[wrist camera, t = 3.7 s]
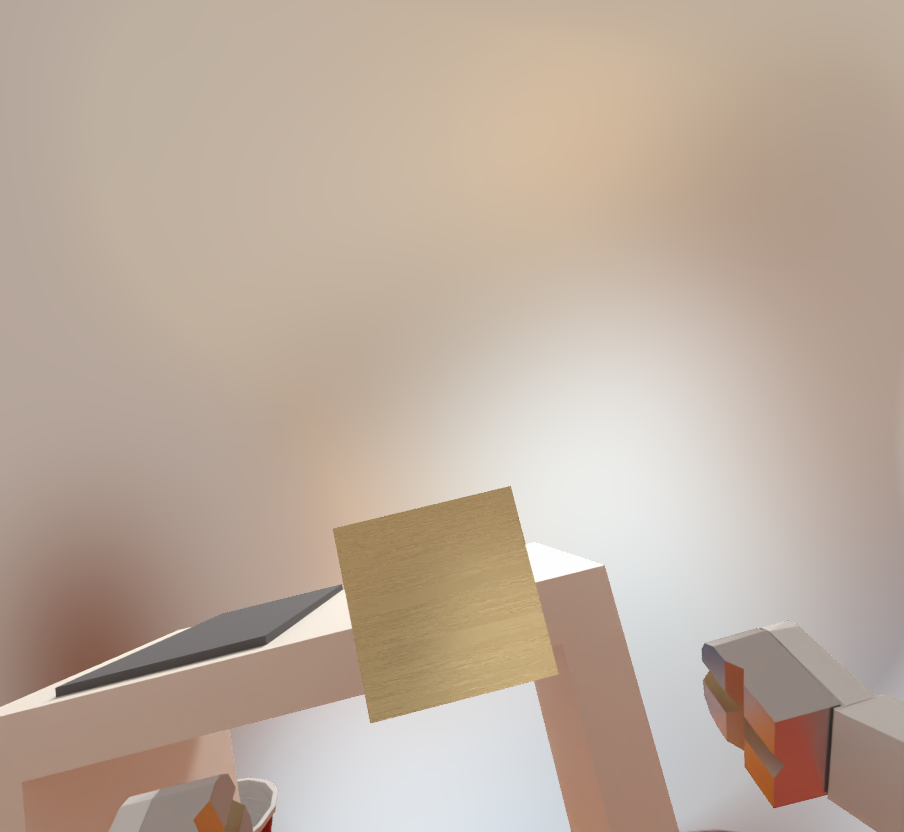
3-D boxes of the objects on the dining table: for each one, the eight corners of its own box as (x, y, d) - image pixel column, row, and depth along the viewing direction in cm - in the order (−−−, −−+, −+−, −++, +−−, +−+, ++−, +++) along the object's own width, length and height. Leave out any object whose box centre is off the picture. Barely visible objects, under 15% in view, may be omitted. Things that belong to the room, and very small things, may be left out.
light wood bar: (478, 557, 30) (465, 505, 30) (558, 674, 8) (510, 485, 9) (426, 570, 30) (414, 518, 30) (370, 723, 8) (333, 528, 9)
